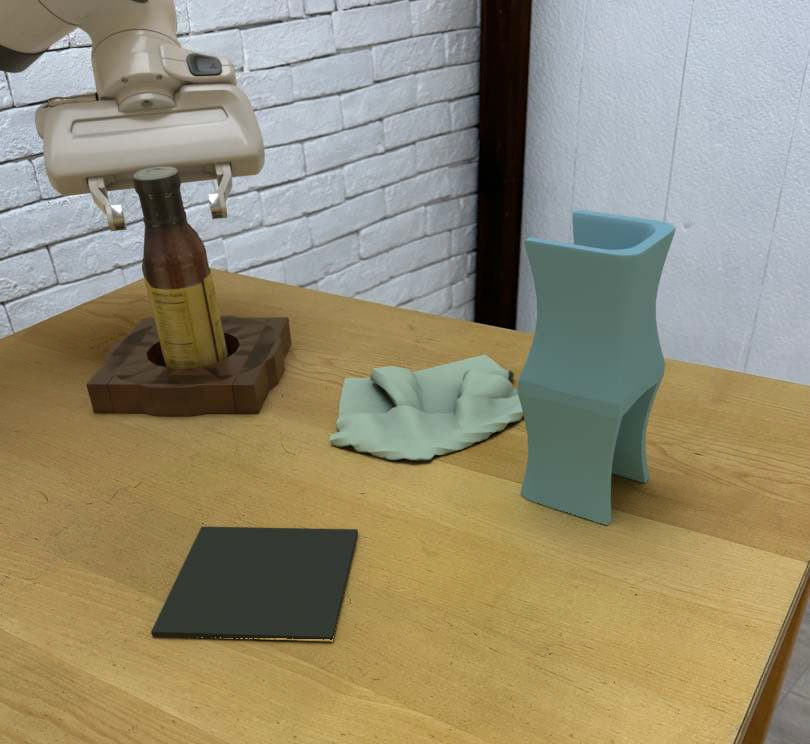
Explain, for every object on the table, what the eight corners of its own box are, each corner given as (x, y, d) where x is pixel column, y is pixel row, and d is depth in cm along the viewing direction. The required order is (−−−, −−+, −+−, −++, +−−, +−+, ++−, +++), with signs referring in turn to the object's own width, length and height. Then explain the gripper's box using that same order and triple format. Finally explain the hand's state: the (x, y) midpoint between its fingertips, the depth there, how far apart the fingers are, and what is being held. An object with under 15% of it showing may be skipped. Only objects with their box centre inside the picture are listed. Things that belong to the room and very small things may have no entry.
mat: (152, 637, 59) (150, 631, 59) (202, 531, 69) (201, 526, 69) (332, 642, 58) (332, 636, 58) (358, 534, 68) (357, 528, 67)
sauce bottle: (200, 357, 95) (162, 158, 84) (243, 370, 92) (210, 165, 80) (153, 381, 91) (106, 174, 79) (196, 396, 88) (154, 183, 76)
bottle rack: (85, 415, 85) (77, 386, 84) (144, 342, 99) (138, 315, 97) (262, 416, 84) (258, 387, 82) (297, 341, 97) (294, 314, 96)
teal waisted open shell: (561, 452, 76) (577, 208, 64) (649, 478, 72) (684, 223, 61) (514, 496, 71) (522, 239, 59) (607, 526, 67) (635, 258, 55)
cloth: (306, 459, 77) (303, 435, 76) (357, 352, 94) (356, 331, 93) (549, 470, 74) (550, 444, 72) (555, 357, 91) (557, 335, 90)
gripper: (22, 77, 82) (46, 217, 80) (248, 57, 86) (275, 190, 84) (39, 121, 88) (62, 252, 86) (249, 101, 92) (275, 226, 90)
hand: (169, 221), depth 85 cm, fingers open, 8 cm apart
